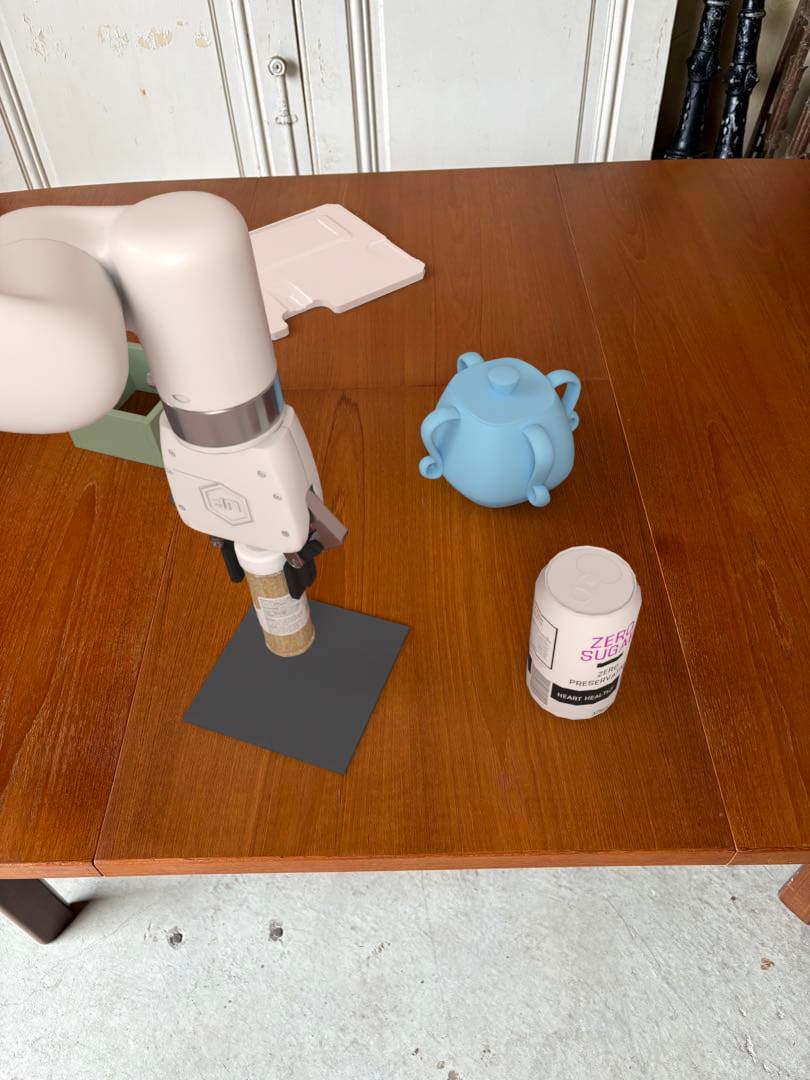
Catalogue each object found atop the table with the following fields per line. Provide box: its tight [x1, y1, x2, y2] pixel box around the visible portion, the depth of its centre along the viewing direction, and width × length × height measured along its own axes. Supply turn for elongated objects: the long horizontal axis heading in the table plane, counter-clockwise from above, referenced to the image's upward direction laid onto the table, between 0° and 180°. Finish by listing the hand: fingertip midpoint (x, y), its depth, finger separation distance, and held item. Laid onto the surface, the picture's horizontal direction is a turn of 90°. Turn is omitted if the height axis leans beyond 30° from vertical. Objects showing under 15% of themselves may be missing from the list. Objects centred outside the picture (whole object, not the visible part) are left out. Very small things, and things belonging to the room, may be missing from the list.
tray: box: [248, 203, 426, 341], centre depth 124 cm, size 28×28×2 cm
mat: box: [181, 598, 411, 776], centre depth 76 cm, size 16×16×1 cm
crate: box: [68, 341, 165, 469], centre depth 99 cm, size 13×13×7 cm
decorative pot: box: [418, 351, 582, 509], centre depth 88 cm, size 16×16×14 cm
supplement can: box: [525, 545, 643, 721], centre depth 68 cm, size 8×8×15 cm
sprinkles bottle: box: [234, 541, 315, 657], centre depth 67 cm, size 5×5×13 cm
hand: (273, 576), depth 65 cm, fingers closed on sprinkles bottle, 4 cm apart
